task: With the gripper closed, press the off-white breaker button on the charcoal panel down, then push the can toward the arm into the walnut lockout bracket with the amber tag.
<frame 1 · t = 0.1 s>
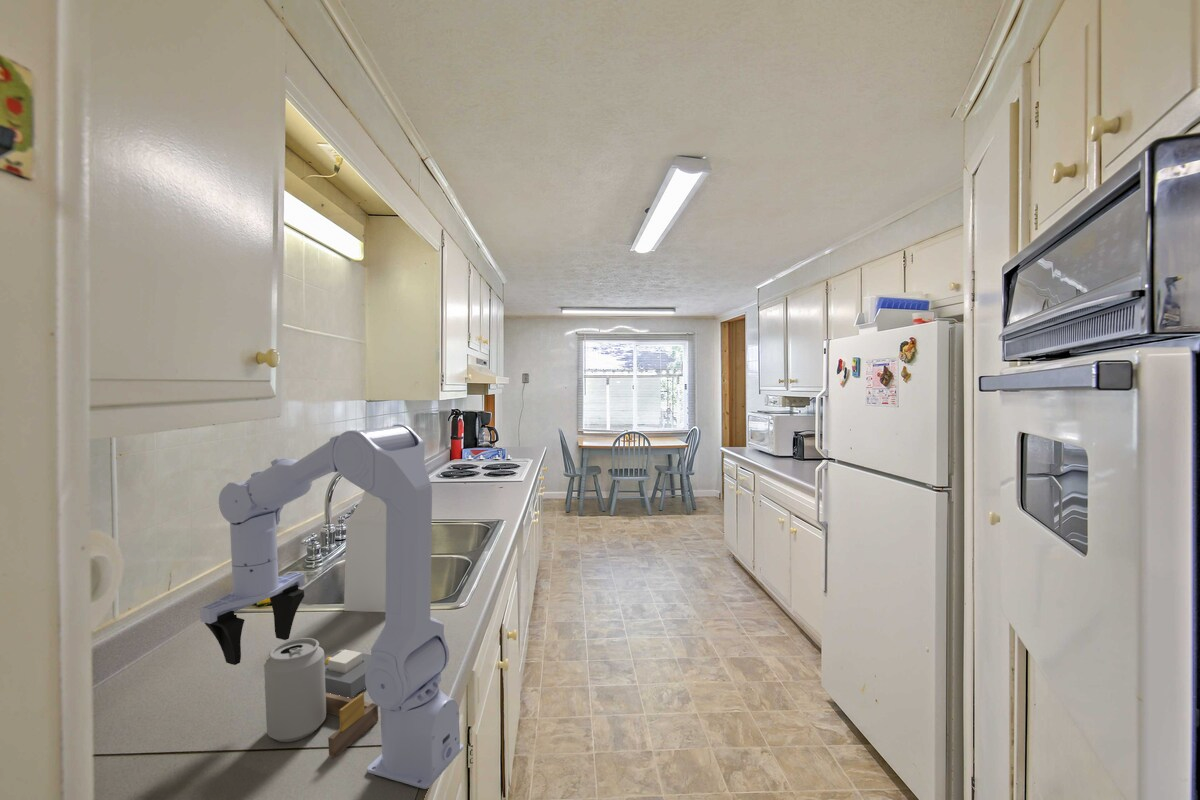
hand: (259, 649, 80), 10 cm above the counter, fingers open, 7 cm apart
can: (297, 729, 78), on the counter
milk: (383, 601, 122), on the counter
lockout bracket: (335, 738, 75), on the counter
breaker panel: (346, 679, 90), on the counter
breaker: (345, 662, 90), point 3 cm above the counter, slide at 0.0 cm
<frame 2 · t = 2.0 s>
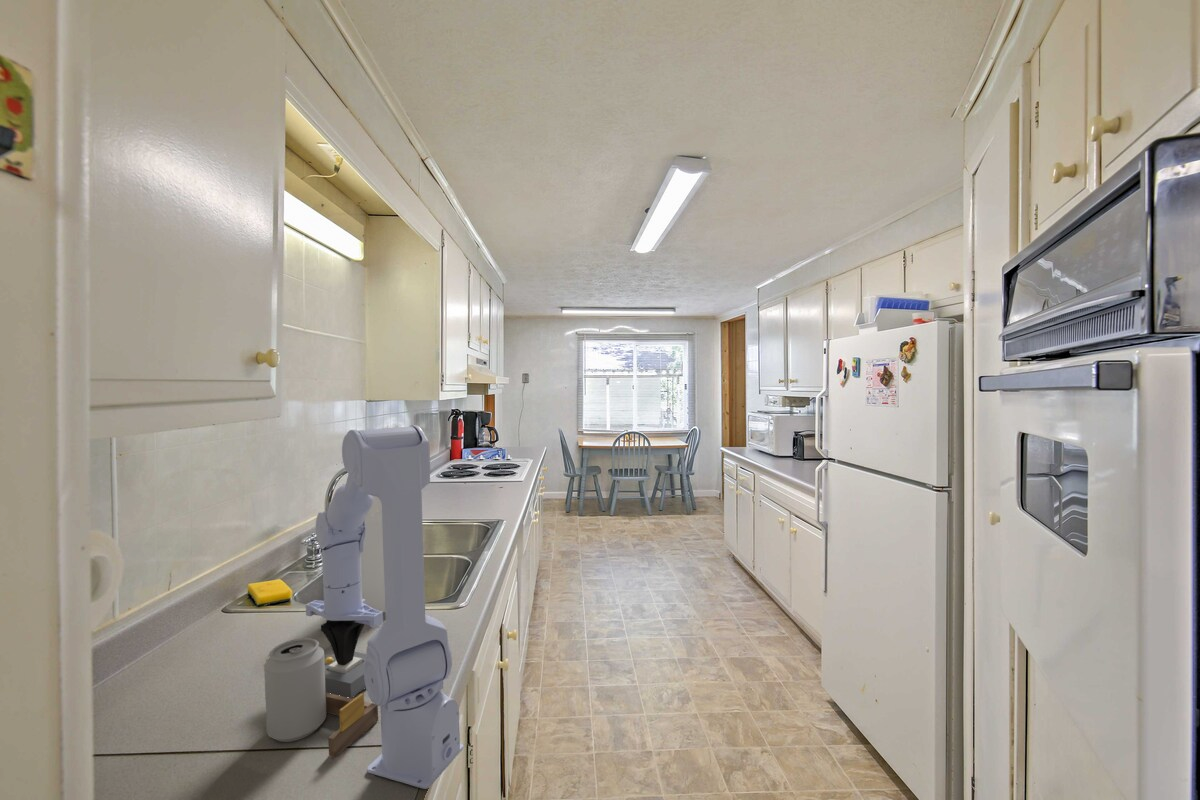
hand: (345, 662, 90), 3 cm above the counter, fingers closed, pressing on breaker
breaker: (345, 668, 90), point 2 cm above the counter, slide at 1.0 cm, touching gripper
everything else where it was.
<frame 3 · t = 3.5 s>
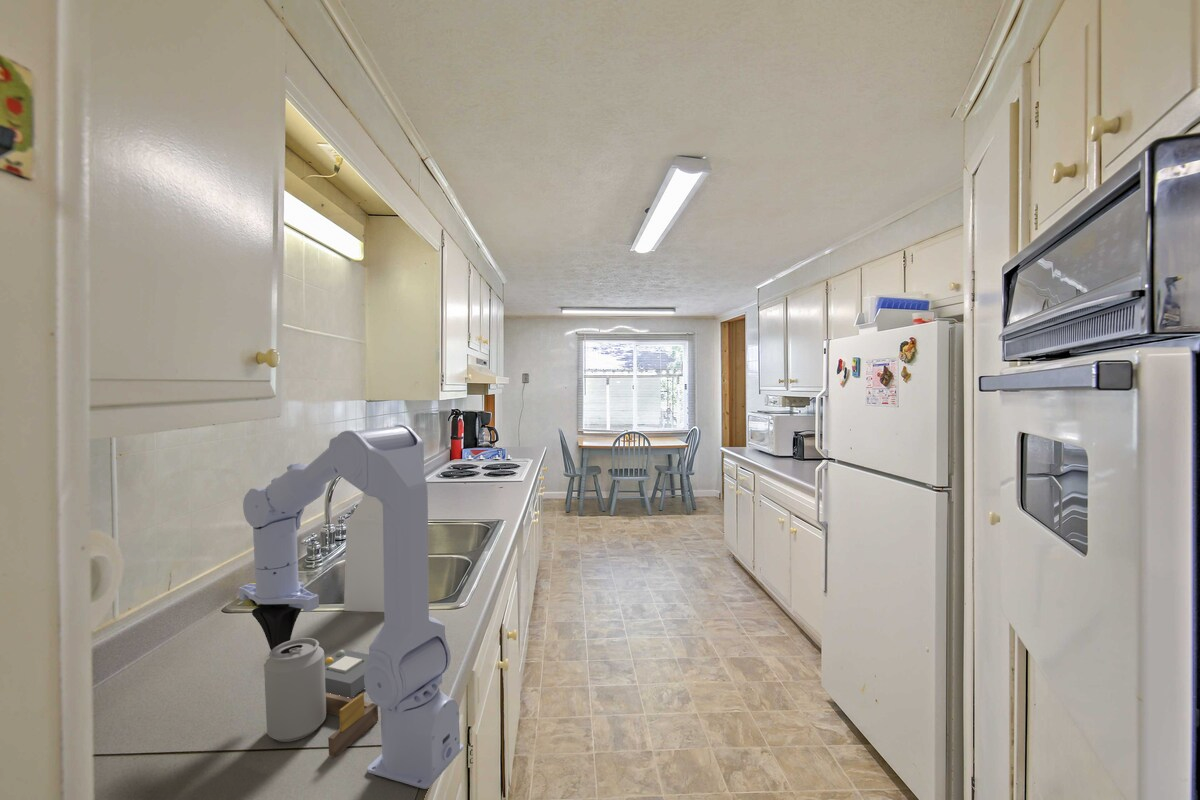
hand: (280, 649, 84), 8 cm above the counter, fingers closed
breaker: (345, 669, 90), point 2 cm above the counter, slide at 1.1 cm
everything else where it was.
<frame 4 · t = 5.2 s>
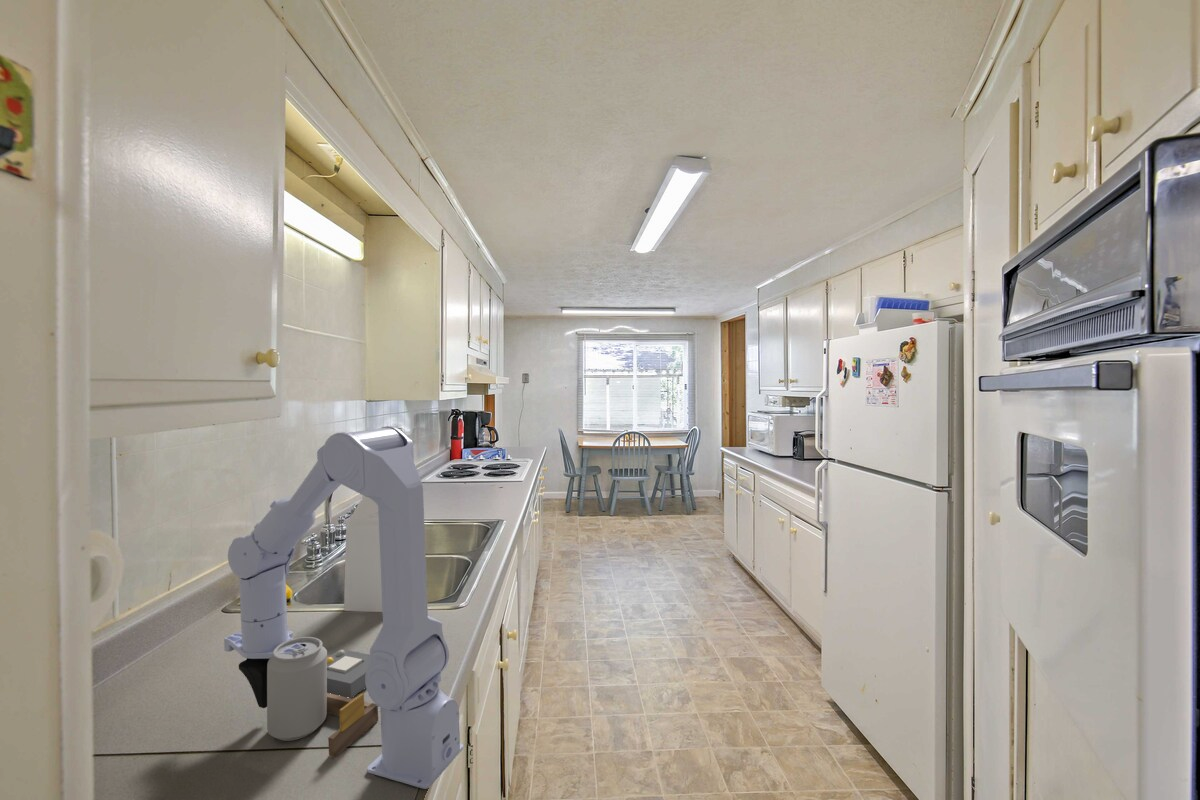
hand: (267, 703, 80), 2 cm above the counter, fingers closed
can: (297, 728, 78), on the counter, touching gripper
everything else where it was.
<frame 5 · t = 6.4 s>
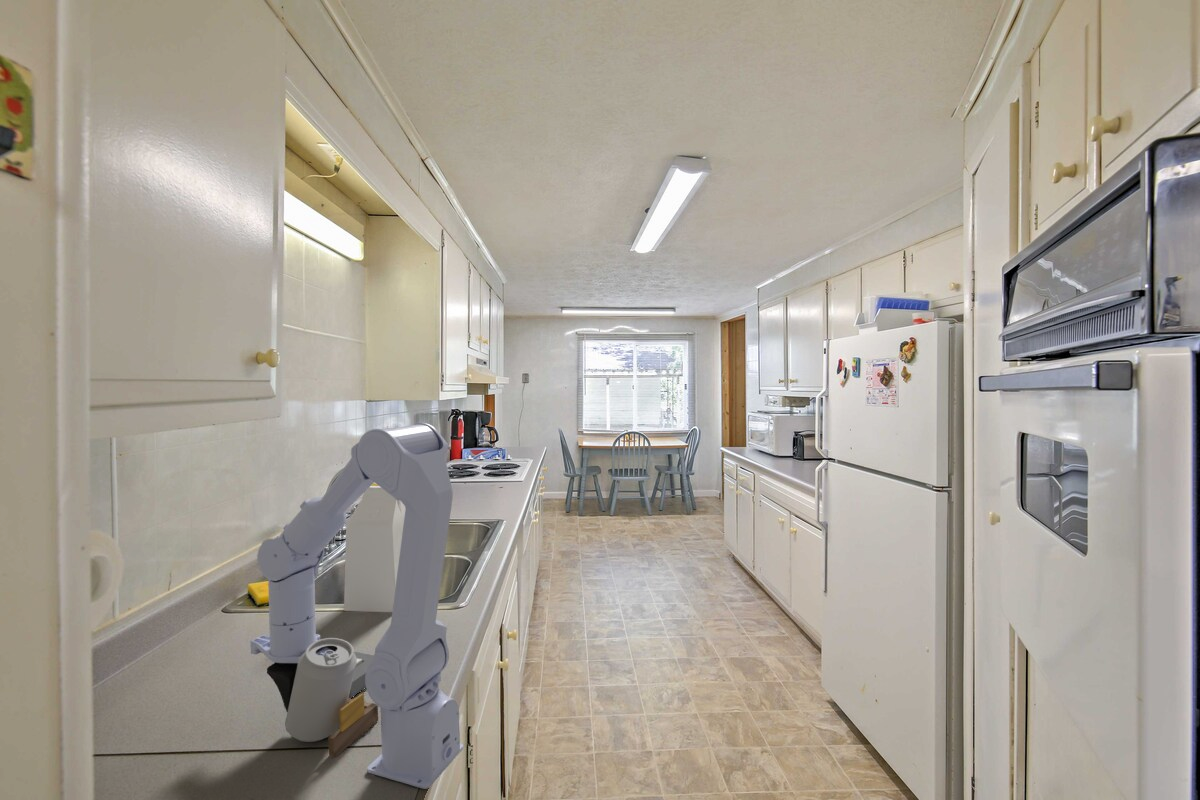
hand: (294, 708, 78), 3 cm above the counter, fingers closed, pressing on can
can: (313, 726, 77), point 1 cm above the counter, touching gripper
everything else where it was.
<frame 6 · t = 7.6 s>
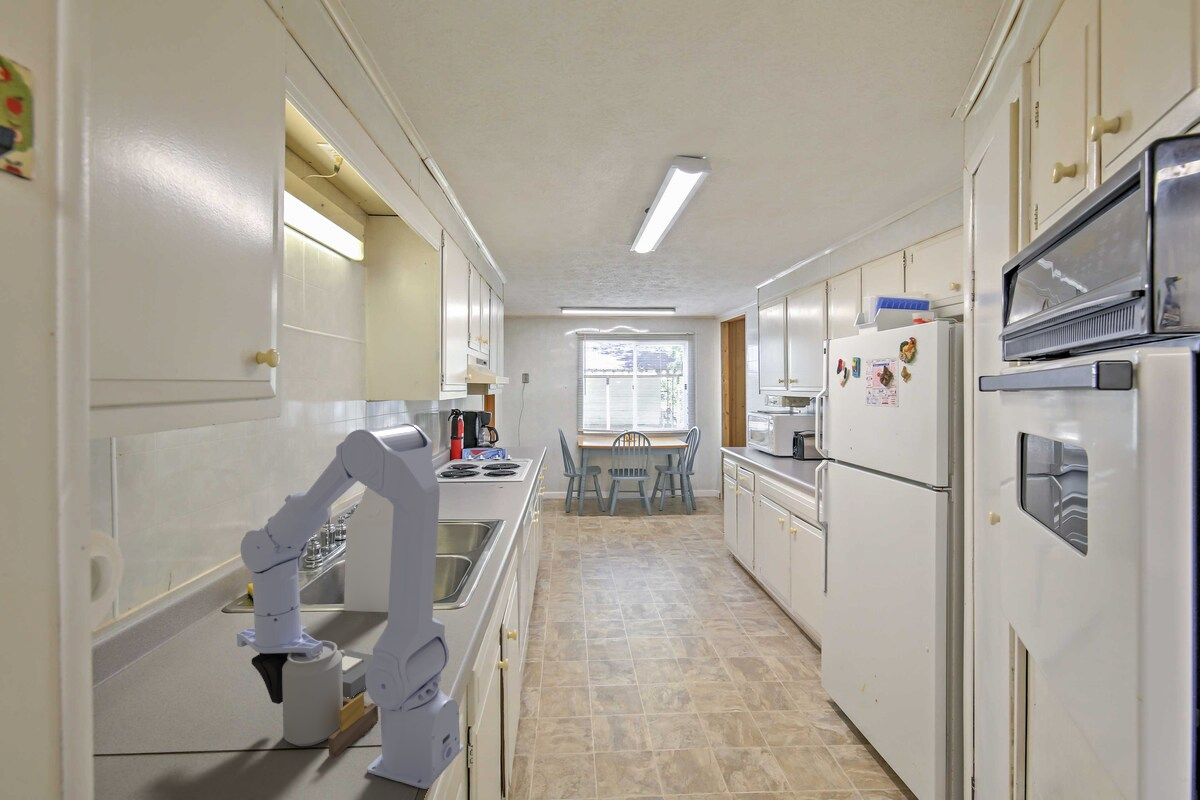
hand: (281, 699, 79), 4 cm above the counter, fingers closed
can: (314, 733, 77), on the counter, touching gripper
everything else where it was.
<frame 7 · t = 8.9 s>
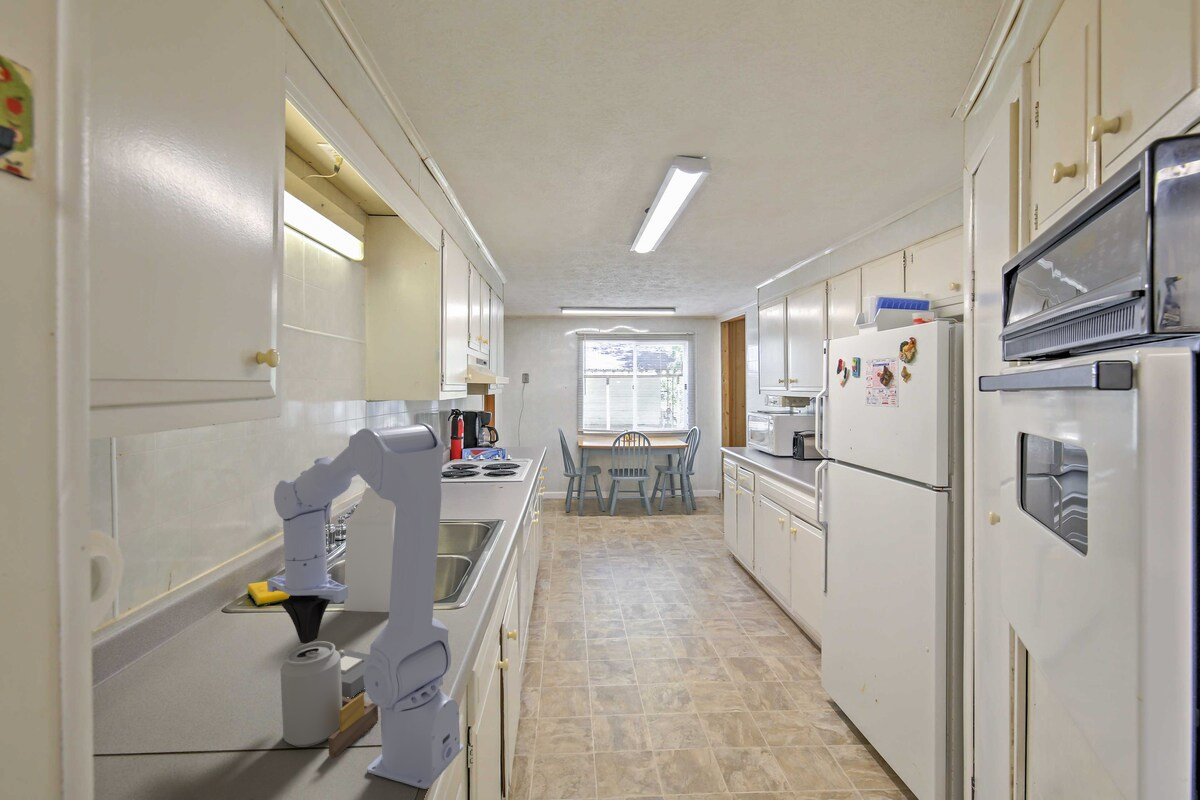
hand: (309, 640, 84), 9 cm above the counter, fingers closed
can: (314, 734, 77), on the counter
everything else where it was.
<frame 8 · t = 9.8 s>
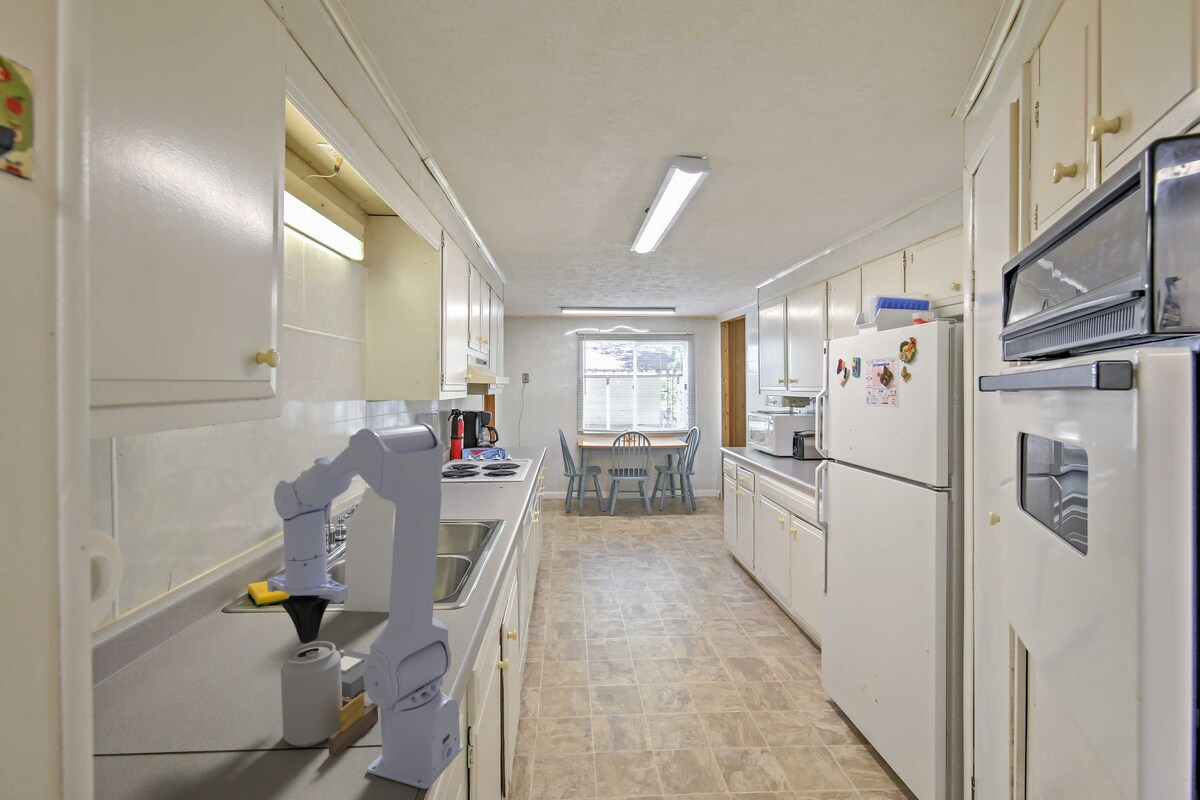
hand: (309, 640, 84), 9 cm above the counter, fingers closed
nothing on the counter moved.
at the end: breaker slide at 1.1 cm; can 1.8 cm from the target spot, on the counter; can tilted 0° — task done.
